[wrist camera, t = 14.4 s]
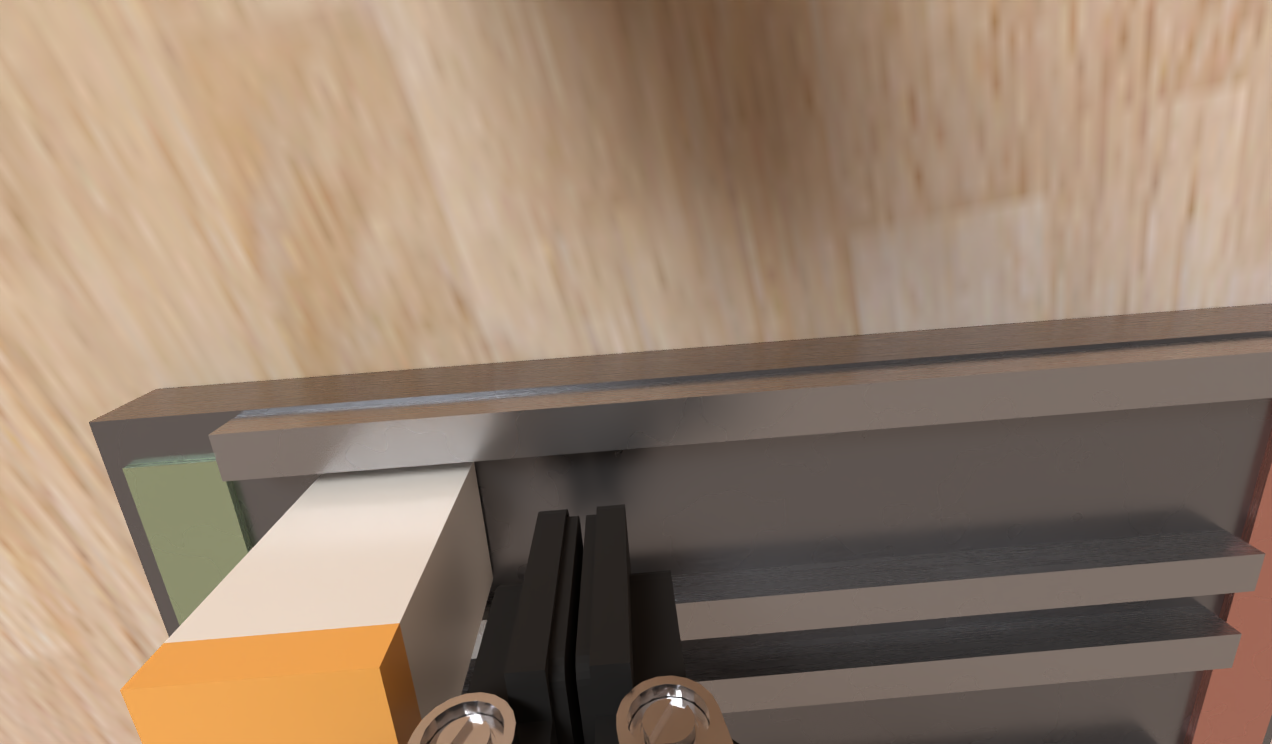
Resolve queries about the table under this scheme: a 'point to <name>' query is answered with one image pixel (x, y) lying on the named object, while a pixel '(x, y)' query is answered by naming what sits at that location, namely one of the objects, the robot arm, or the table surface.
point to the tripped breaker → (331, 619)
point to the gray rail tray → (826, 512)
